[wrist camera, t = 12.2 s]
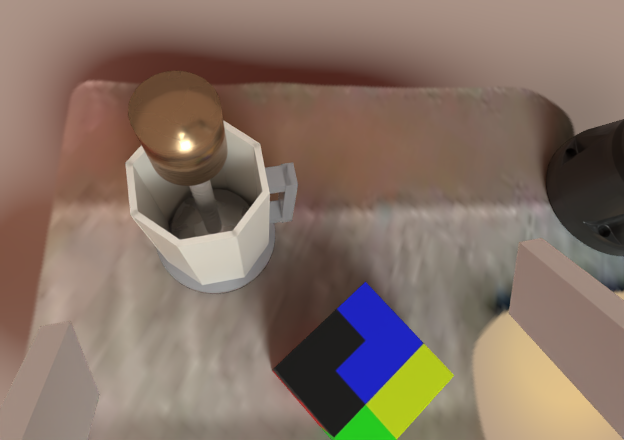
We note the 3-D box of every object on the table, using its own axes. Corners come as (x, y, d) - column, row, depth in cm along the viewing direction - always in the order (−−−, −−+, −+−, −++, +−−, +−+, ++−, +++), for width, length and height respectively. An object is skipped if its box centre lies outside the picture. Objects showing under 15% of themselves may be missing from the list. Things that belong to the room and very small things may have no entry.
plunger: (248, 186, 48) (235, 41, 28) (261, 260, 46) (259, 163, 25) (168, 198, 47) (94, 57, 27) (178, 275, 45) (105, 186, 24)
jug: (277, 173, 52) (282, 95, 38) (299, 278, 48) (313, 236, 34) (151, 192, 50) (107, 118, 36) (164, 304, 46) (120, 271, 32)
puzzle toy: (345, 301, 48) (365, 281, 39) (415, 376, 46) (454, 375, 37) (272, 370, 45) (274, 368, 36) (343, 454, 44) (365, 474, 34)
